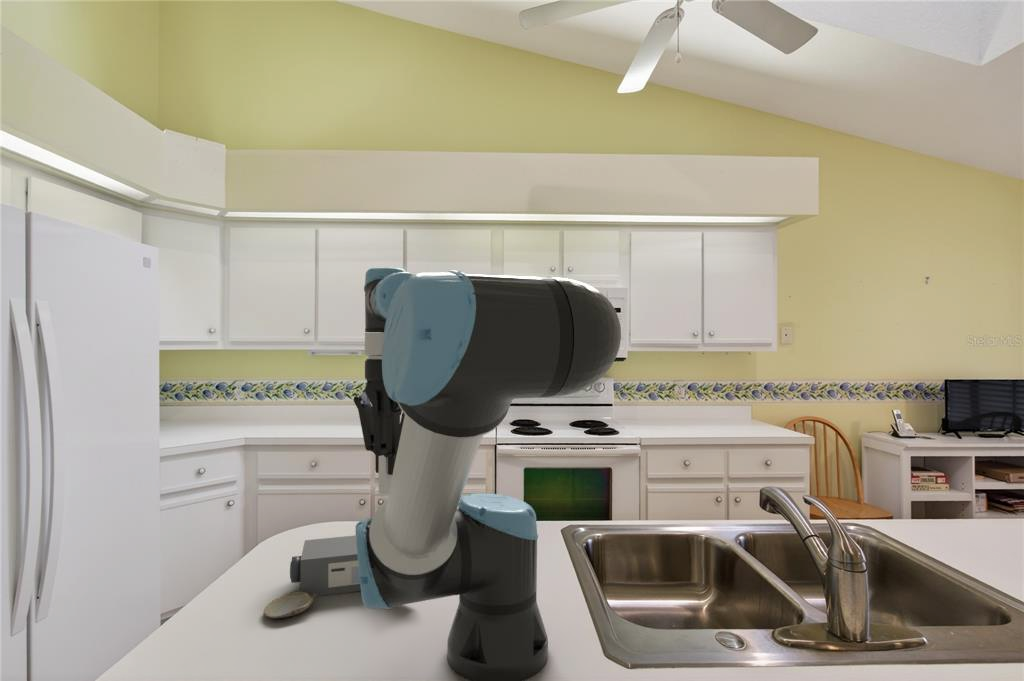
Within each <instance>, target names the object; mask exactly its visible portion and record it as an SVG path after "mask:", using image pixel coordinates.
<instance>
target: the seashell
mask: <svg viewBox="0 0 1024 681" xmlns="http://www.w3.org/2000/svg"><path fill="white" fill-rule="evenodd" d="M315 595H316V593H315V594H309V593H306V592H301V591H294V592H290V593H286V594H283V595H281V596H279V597H277V598H275V599H273V600H272V601H270V602H268V604H266V606H265V607H264V609H263V615H264V617H266V618H270V619H271V618H272V619H282V618H283V619H284V618H289V617H293V616H296V615H298V614H301V613H303V612H305V611H306V610H308V608H310V606H312V604H313V602H314V599H315Z"/></svg>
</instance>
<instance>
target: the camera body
mask: <svg viewBox="0 0 1024 681" xmlns="http://www.w3.org/2000/svg"><path fill="white" fill-rule="evenodd" d="M289 578H290V582H291V583H290V584H294V583H295V584H296V583H300V592H306V593H309V594H315V593H316V595H315V597H316V598H317V597H323V596H331V595H340V594H346V593H355V592H356V593H357V592H361V586H360V574H359V567H358V556H357V545H356V534H355V535H348V536H347V535H345V536H338V537H337V536H336V537H335V536H334V537H323V538H317V539H315V538H314V539H305V540H304V542H303V548H302V553H301V555H297V556H296V555H295V556H291V561H290V563H289ZM315 597H314V598H315Z"/></svg>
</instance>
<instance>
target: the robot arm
mask: <svg viewBox="0 0 1024 681" xmlns="http://www.w3.org/2000/svg"><path fill="white" fill-rule="evenodd" d="M364 278H365V280H364V282H365V283H364V286H363V291H364V306H365V308H364V310H365V311H364V314H365V315H364V316H365V317H364V318H365V319H364V320H365V322H364V324H365V328H364V355H365V356H367V357H368V358H366V359H365V360H364V379H365V381H366V386H365V387H364V392H362V393H361V394H360V395H355V396H354V397H353V403H354V404H355V406H356V408H357V410H358V416H359V417H358V418H359V422H360V427H361V428H360V429H361V432H362V437H363V443H364V448H365V450H366V451H368V452H372V453H373V454H374V456H375V461H374V462H375V463H374V464H375V465H374V466H375V468H374V469H375V472H376V474H378V495H385V496H386V495H387V498H386V499H387V500H386V501H384V502H383V503H382V504H381V505H380V506H379V507H378V508H377V509H376V511H375V512H374V514H373V516H372V518H371V517H369V518H368V517H367V518H366V519H365V520H360V521H358V522H357V523H356V524H355V535H356V545H357V556H358V567H359V574H360V586H361V591H360V593H361V595H360V596H361V601H362V604H363V605H364V606H365V607H366V608H367V609H369V610H380V609H387V610H390V609H393V608H394V607H399V606H402V605H403V606H405V605H409V604H415V603H419V602H425V601H430V600H436V599H441V598H442V599H443V598H446V597H453V596H458V597H459V598H458V600H459V601H458V605H457V609H456V611H455V615H454V618H453V621H452V624H451V628H450V630H449V634H448V636H447V641H446V642H447V645H446V646H447V647H446V648H447V650H446V651H447V652H446V654H447V656H446V658H447V661H448V663H449V665H450V667H451V668H452V669H453V670H454V671H455V672H456V673H458V675H460V676H462V677H464V678H466V679H468V680H471V681H523V680H526V679H528V678H530V677H532V676H534V675H536V674H537V673H538V672H540V670H542V669H543V667H544V666H545V665H546V663H547V661H548V658H549V638H548V634H547V631H546V628H545V624H544V622H543V618H542V615H541V612H540V608H539V606H538V602H537V586H538V585H537V584H538V583H537V581H538V580H537V578H538V577H537V576H538V575H537V574H538V572H537V568H538V538H539V534H538V528H537V527H538V525H537V514H536V512H535V510H534V508H533V507H532V505H530V504H528V503H527V502H526V501H523V500H521V499H519V498H515V497H512V496H509V495H504V494H497V493H479V492H478V493H470V494H468V495H464V496H462V495H463V492H464V489H465V487H466V484H467V482H468V479H469V476H470V472H471V470H472V467H473V464H474V463H475V462H474V461H475V459H476V456H477V453H478V451H479V447H480V444H481V443H482V442H481V441H482V440H483V437H484V436H485V435H487V434H489V433H491V432H493V431H494V430H496V429H497V428H498V427H499V426H500V425H501V424H502V423H503V421H504V419H505V418H506V416H507V414H508V411H509V409H510V406H511V404H512V401H513V400H514V399H516V400H517V399H537V398H553V397H554V398H555V397H562V396H565V397H566V396H568V395H574V394H575V393H579V392H581V391H583V390H585V389H587V388H589V387H591V386H593V385H594V384H595V383H596V382H598V381H599V380H601V379H602V378H603V377H604V376H605V375H606V373H607V372H608V371H609V370H610V369H611V367H612V365H613V364H614V362H615V360H616V358H617V357H618V354H619V351H620V346H621V342H622V340H621V339H622V329H621V323H620V320H619V315H618V313H617V310H616V309H615V307H614V306H613V304H612V302H611V300H609V299H608V297H606V296H605V295H604V294H603V293H602V292H601V291H599V290H598V289H596V288H594V287H593V286H591V285H589V284H587V283H584V282H582V281H578V280H575V279H569V278H565V277H555V276H554V277H551V276H547V277H541V276H522V275H521V276H518V275H497V274H496V275H495V274H492V275H491V274H471V273H468V274H467V273H465V272H463V271H458V270H447V271H443V272H418V273H415V274H413V273H411V272H408V271H407V270H405V269H403V268H398V267H387V266H386V267H385V266H384V267H382V266H381V267H373V268H369V269H367V271H366V272H365V277H364Z"/></svg>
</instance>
